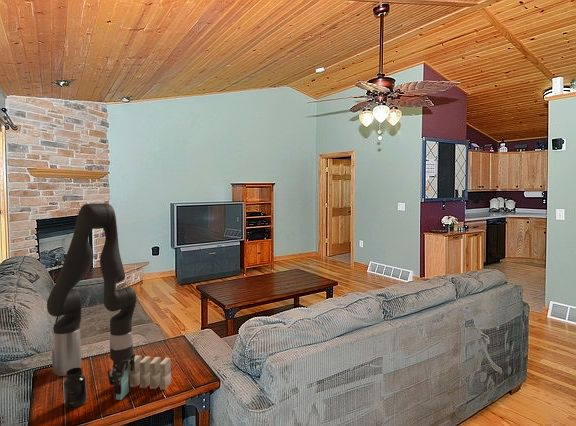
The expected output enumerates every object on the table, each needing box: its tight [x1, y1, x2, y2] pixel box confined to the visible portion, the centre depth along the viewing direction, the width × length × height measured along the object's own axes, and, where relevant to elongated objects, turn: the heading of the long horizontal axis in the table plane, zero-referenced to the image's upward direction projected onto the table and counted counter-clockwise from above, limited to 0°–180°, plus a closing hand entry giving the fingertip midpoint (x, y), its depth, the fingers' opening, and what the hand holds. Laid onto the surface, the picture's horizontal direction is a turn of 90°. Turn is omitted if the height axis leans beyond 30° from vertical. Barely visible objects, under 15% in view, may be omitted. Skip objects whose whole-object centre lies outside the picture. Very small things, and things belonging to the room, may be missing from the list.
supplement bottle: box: [62, 367, 88, 410], centre depth 130 cm, size 7×7×12 cm
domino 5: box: [159, 357, 172, 391], centre depth 142 cm, size 2×5×10 cm, turn 173°
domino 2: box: [129, 354, 142, 388], centre depth 143 cm, size 2×5×10 cm, turn 175°
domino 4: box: [149, 356, 162, 390], centre depth 143 cm, size 2×5×10 cm, turn 173°
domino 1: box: [115, 368, 130, 401], centre depth 135 cm, size 2×5×10 cm, turn 173°
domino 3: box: [139, 355, 152, 389], centre depth 143 cm, size 2×5×10 cm, turn 173°
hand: (122, 389), depth 135 cm, fingers closed on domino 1, 5 cm apart
